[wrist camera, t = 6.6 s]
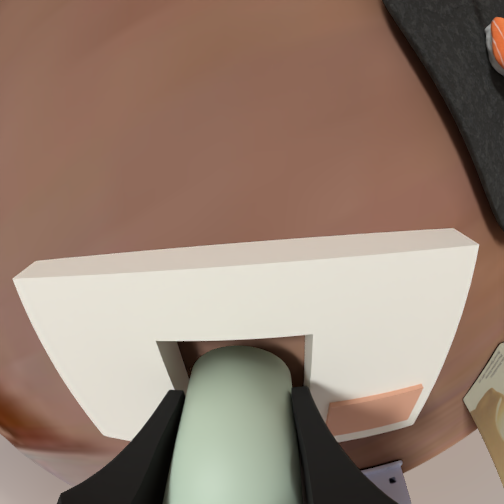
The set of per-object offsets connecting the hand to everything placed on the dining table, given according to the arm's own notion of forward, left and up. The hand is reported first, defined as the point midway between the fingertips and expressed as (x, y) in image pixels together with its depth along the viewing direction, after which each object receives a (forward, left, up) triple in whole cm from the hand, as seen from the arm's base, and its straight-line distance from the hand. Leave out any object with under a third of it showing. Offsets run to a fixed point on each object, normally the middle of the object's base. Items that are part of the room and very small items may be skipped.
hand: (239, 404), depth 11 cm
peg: (0, 0, -1) cm, 1 cm away
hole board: (0, 0, -3) cm, 3 cm away
